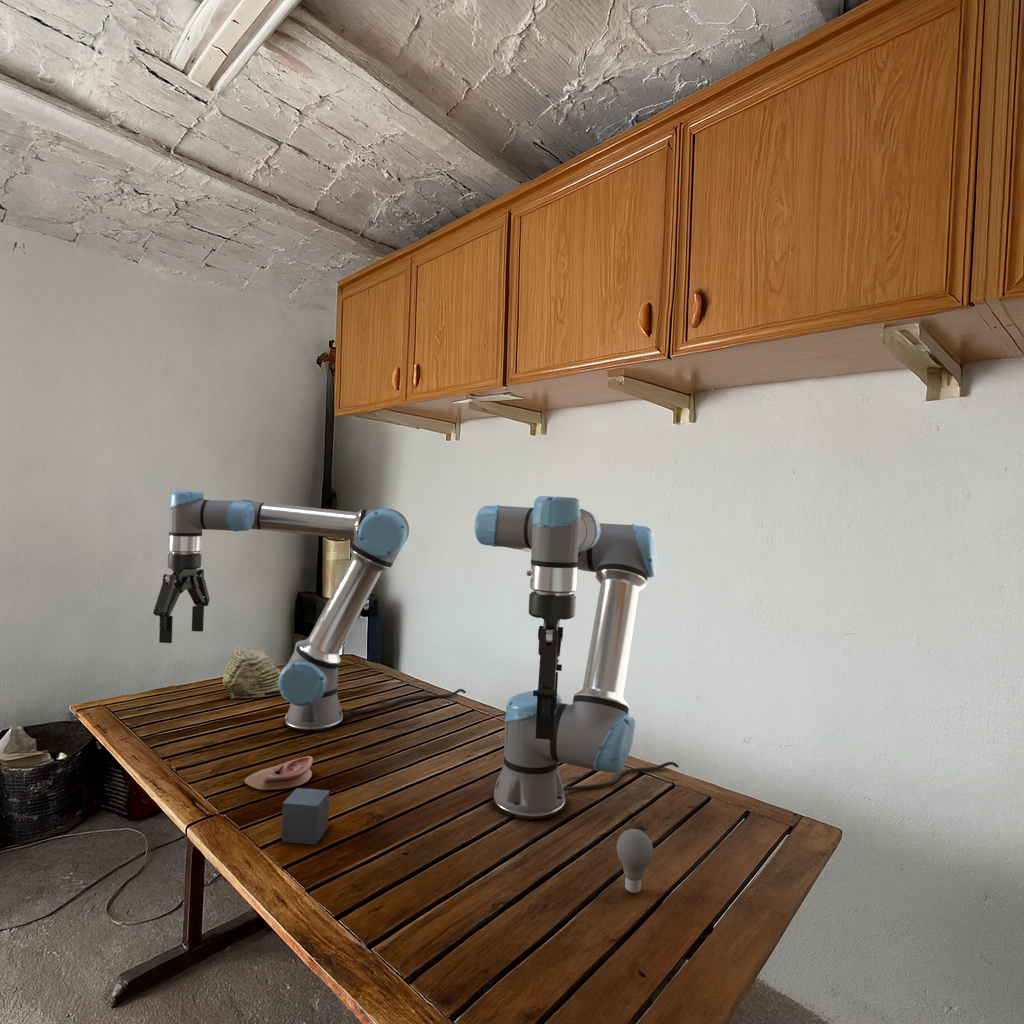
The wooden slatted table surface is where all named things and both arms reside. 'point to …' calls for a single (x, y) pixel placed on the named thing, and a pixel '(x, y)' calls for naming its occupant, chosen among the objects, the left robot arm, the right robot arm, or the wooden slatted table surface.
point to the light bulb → (634, 857)
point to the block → (305, 816)
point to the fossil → (251, 674)
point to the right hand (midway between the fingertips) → (546, 723)
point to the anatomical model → (282, 775)
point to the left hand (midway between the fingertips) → (182, 636)
